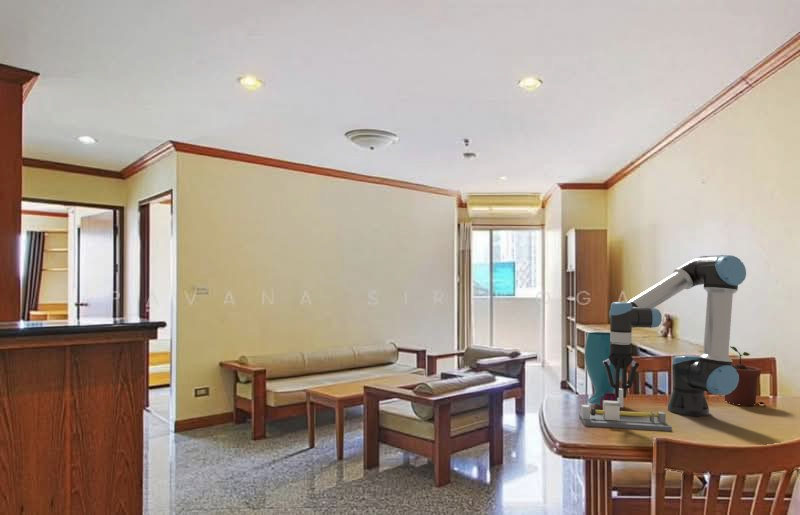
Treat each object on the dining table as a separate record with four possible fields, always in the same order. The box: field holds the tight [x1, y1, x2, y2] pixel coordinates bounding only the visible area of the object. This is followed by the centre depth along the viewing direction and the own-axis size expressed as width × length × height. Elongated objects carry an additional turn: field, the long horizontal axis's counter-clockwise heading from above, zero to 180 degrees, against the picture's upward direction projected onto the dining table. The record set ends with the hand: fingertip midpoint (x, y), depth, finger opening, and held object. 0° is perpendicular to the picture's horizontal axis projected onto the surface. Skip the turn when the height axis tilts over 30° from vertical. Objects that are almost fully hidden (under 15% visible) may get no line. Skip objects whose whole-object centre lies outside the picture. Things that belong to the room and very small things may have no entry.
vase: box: [584, 331, 622, 406], centre depth 240 cm, size 17×17×30 cm
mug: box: [599, 393, 622, 411], centre depth 222 cm, size 7×10×7 cm
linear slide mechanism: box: [578, 404, 673, 432], centre depth 203 cm, size 30×12×6 cm, turn 81°
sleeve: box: [602, 400, 621, 421], centre depth 204 cm, size 5×5×6 cm
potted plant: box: [724, 345, 766, 406], centre depth 246 cm, size 18×22×25 cm
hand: (620, 406), depth 203 cm, fingers closed
